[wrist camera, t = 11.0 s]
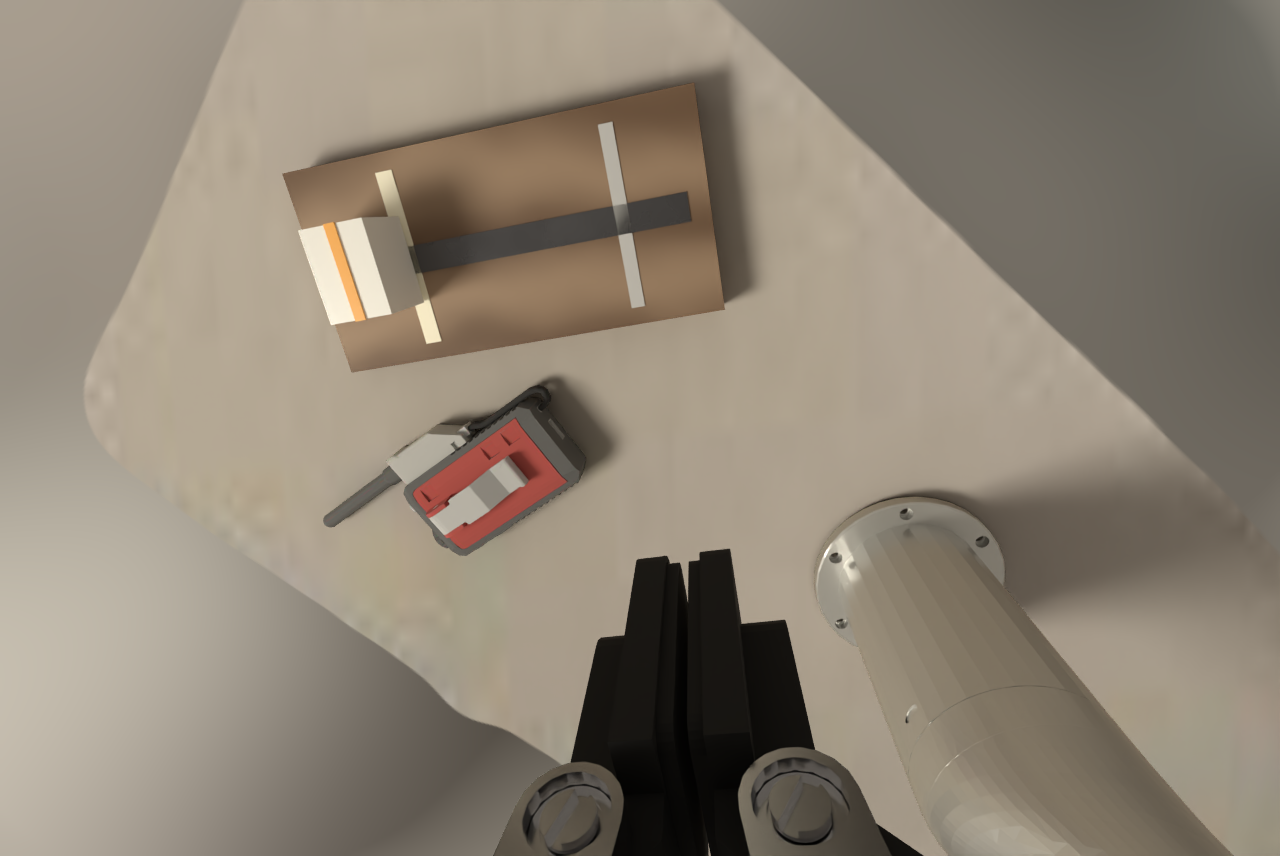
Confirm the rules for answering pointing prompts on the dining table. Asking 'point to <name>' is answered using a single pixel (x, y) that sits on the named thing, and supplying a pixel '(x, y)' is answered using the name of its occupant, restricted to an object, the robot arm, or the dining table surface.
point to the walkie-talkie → (480, 473)
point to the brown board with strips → (533, 227)
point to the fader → (362, 268)
